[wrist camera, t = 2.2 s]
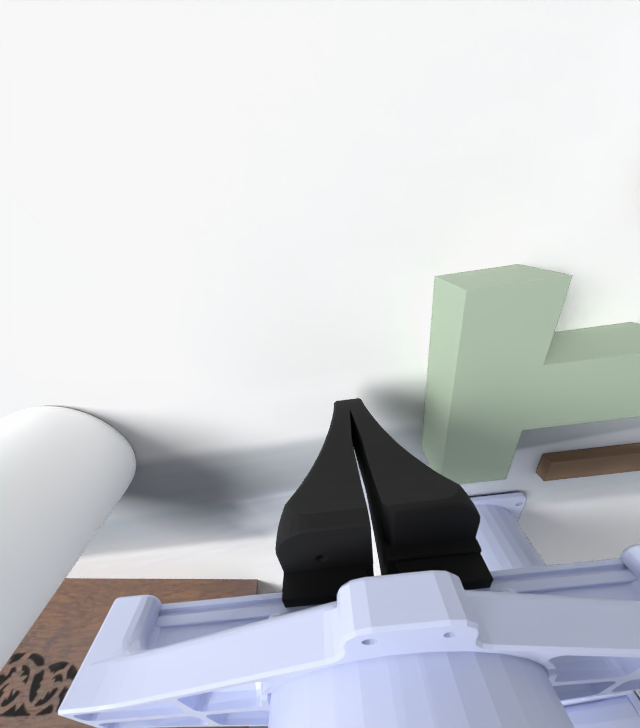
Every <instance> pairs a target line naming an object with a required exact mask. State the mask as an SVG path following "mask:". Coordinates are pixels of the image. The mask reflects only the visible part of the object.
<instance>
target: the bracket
mask: <svg viewBox="0 0 640 728" xmlns="http://www.w3.org/2000/svg"><path fill="white" fill-rule="evenodd" d="M631 471H640V443H635V444H626V445H618V446H609V447H600V448H591V449H583V450H574V451H565V452H557V453H548V454H543V456H542V458H541V460H540V463H539V465H538V468H537V470H536V473H537V474H538V475H539V476H540V477H541V478H542V479H543V481H550V480H559V479H568V478H577V477H586V476H595V475H604V474H613V473H622V472H631Z"/></svg>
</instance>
